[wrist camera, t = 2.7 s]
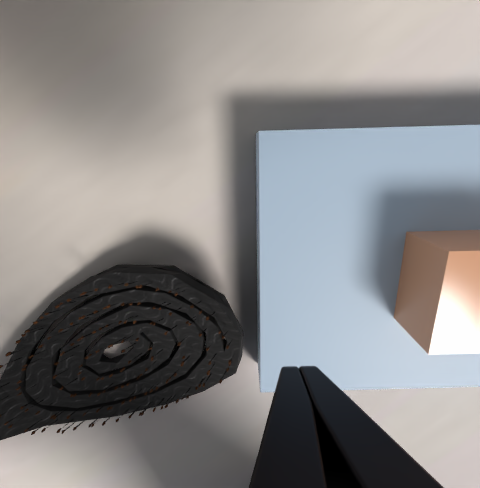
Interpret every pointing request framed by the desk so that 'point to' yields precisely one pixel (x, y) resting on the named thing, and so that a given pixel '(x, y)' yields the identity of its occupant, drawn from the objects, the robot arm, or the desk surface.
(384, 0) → the desk surface
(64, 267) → the desk surface
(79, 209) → the desk surface
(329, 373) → the board
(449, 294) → the tile
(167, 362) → the black spiral-grooved part
